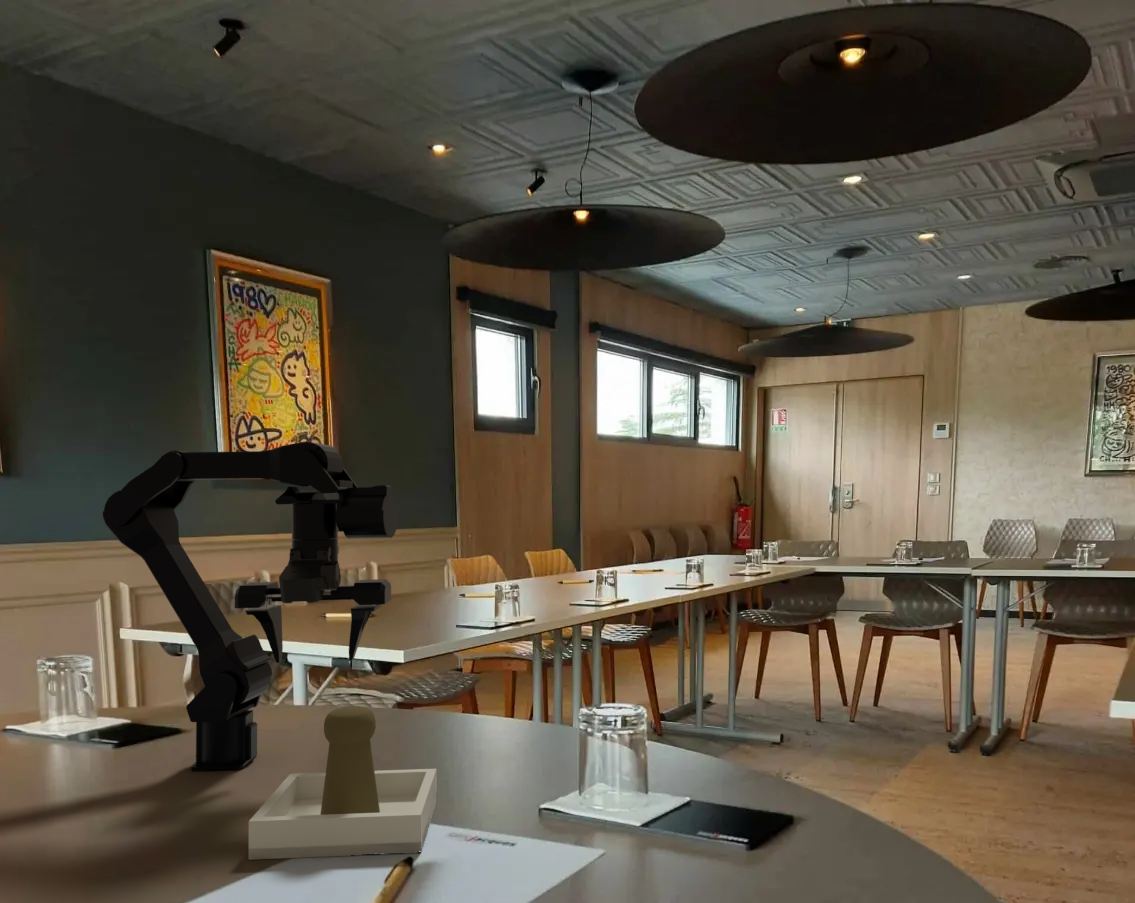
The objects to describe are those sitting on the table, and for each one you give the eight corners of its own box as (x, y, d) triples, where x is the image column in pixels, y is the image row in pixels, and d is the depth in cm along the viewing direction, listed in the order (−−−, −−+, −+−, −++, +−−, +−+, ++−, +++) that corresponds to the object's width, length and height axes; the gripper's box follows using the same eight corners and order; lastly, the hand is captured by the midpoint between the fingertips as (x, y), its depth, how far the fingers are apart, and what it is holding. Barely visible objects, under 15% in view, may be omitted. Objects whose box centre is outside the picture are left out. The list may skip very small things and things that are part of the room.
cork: (365, 830, 83) (365, 716, 83) (308, 827, 84) (308, 714, 84) (389, 808, 89) (389, 701, 89) (336, 805, 90) (335, 700, 90)
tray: (248, 859, 79) (248, 821, 79) (290, 806, 93) (290, 773, 93) (421, 852, 79) (420, 814, 80) (436, 800, 93) (436, 768, 94)
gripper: (219, 543, 101) (218, 676, 100) (376, 540, 102) (377, 671, 101) (249, 540, 112) (249, 659, 111) (391, 536, 113) (392, 655, 112)
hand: (315, 661), depth 108 cm, fingers open, 9 cm apart
